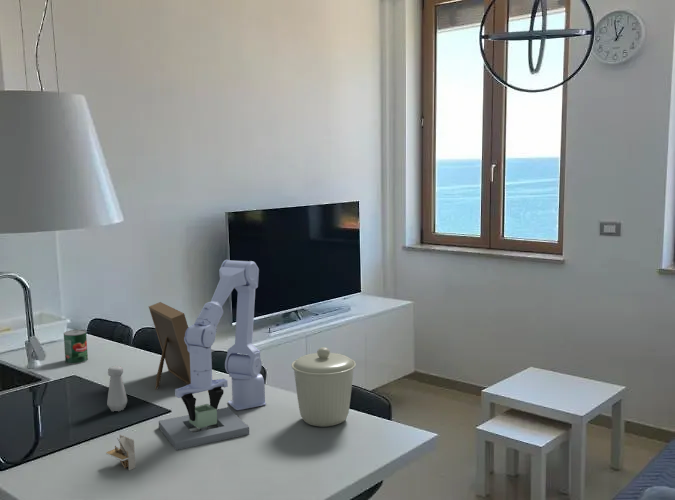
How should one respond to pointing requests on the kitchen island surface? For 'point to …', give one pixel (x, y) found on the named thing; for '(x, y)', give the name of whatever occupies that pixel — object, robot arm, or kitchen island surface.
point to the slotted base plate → (202, 430)
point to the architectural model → (124, 452)
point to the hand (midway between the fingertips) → (203, 417)
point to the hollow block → (204, 416)
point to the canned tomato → (75, 346)
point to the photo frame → (171, 341)
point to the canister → (323, 387)
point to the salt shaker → (116, 389)
